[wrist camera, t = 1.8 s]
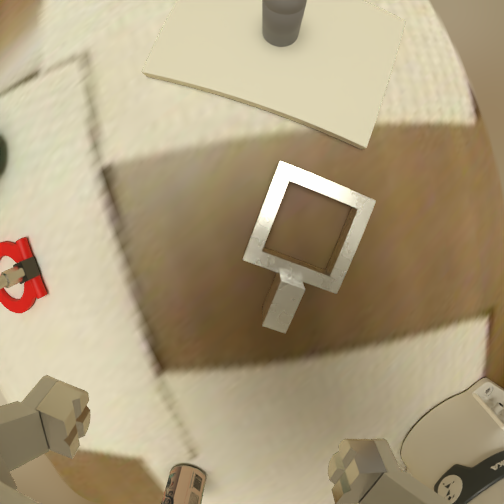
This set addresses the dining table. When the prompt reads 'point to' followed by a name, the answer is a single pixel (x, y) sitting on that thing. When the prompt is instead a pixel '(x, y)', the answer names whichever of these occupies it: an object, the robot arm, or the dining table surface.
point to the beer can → (184, 486)
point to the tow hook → (20, 276)
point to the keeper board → (285, 58)
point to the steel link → (293, 270)
